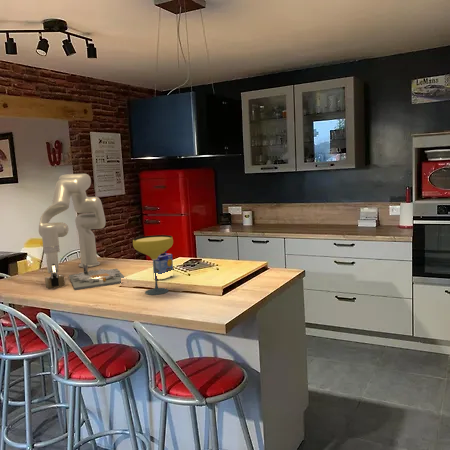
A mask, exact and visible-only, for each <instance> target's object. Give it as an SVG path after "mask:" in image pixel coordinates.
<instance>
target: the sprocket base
mask: <svg viewBox="0 0 450 450" xmlns="http://www.w3.org/2000/svg"><path fill="white" fill-rule="evenodd" d="M113 269H114V271H116V270H119V269H118V268H113ZM74 275H79V273H74V274H68V278H69V281H70V284H72V288H73V290H74V291H79V290H86V289H87V290H88V289H92V288H93V289H94V288H101V287H107V286H113V285H114V286H115V285H121V284H122V283H121V278H124V277H126V276H125V275H124V274H123V273H122V272H121V271H120V276H116V278H115V279H107V280H106V281H103V279H99V281H94V282H93V283H89V282H82V283H80V282H79V281H74V280H73V278H74ZM120 283H121V284H120Z"/></svg>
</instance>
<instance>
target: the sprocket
mask: <svg viewBox="0 0 450 450" xmlns="http://www.w3.org/2000/svg"><path fill="white" fill-rule="evenodd" d="M82 268H83V271H81V272H78V274H79V275H74V278H73V280H74V281H79V282H80V283H82V282H89V283H93V282H94V281H99V279H103V281H106V280H107V279H115V278H116V276H120V272H121V271H120V270H119V269H118V270H116V271H114V269H115V268H110V269H105V268H100V269H97V270H95V269H94V270H93V269H91V270H88V267H87V264H83V267H82Z"/></svg>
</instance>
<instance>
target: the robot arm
mask: <svg viewBox="0 0 450 450" xmlns="http://www.w3.org/2000/svg"><path fill="white" fill-rule="evenodd" d="M91 184H92V179H91V176H90V175H89V174H87V173H72V174H71V173H68V174H66V173H65V174H61V175H60V176H59V177H58V181H56V183H55V188H54V190H53V191H54V192H53V197H52V198H53V199H52V203H51V205H49V206H48V207H47V208H46V209H45V211H44V212H43V213H42V214H41V216H40V218H39V224H38V233H39V236H40V237H41V239H42V248H43V254H44V255H46V256H45V257H46V258H45V259H46V266H47V268H46V269H47V273H48V274H50V275H51V276H52V279H51V280H52V286H53V287H54V286H59V281H58V275H59V274H58V272H59V257H58V256H59V255H58V253H60V252H61V250H60V241H59V239H60V238H63V237H65V236H67V235H68V233H69V226H68V225H67V224H66V223H65V222H60V221H59V222H50V221H51V220H52V219H53V217H56V216H57V215H59V214H61V213H63V212H65V211H67V210H68V209H69V207H70V201H71V202H72V205H73V209H74V211H75V212H76V213H77V214H78V215H76V216H75V219H74V222H75V226H76V230H77V235H78V245H79V256H80V263H79V264H78V267H79V268H83V264H87V268H93V267H98V266H99V265H101V262H100V261H99V260H98V255H97V254H98V253H97V246H96V237H95V233H94V232H93V231H92V230H98V229H99V230H100V229H104V228H105V226H106V223H107V221H106V216H105V212H104V208H103V203H102V201H101V199H100V198H99V197H98V196H87V192H86V191H87V190H88V189H89V188H90V187H91ZM51 276H50V277H51Z"/></svg>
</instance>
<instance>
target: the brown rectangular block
mask: <svg viewBox="0 0 450 450" xmlns="http://www.w3.org/2000/svg"><path fill="white" fill-rule="evenodd" d="M57 275H58V281H59V286H54V287H53V286H52V280H51V279H52V276H47V277H44V282H45V288H46V289H48V290H51V289H56V288H61V287H66V283H65V276H64V275H63V274H57Z"/></svg>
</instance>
